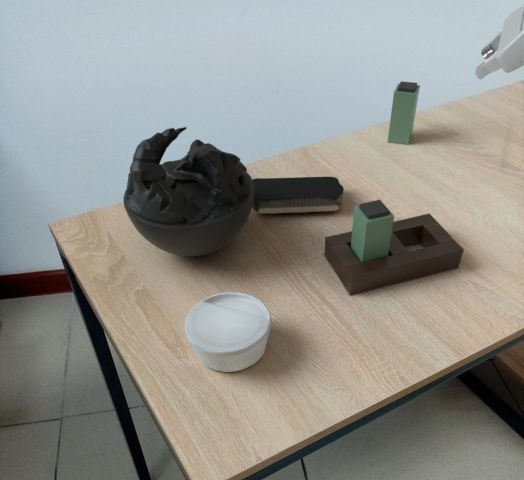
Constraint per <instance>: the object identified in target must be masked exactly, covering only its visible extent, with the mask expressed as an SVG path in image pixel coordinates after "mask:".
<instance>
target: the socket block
mask: <svg viewBox="0 0 524 480" xmlns="http://www.w3.org/2000/svg"><path fill="white" fill-rule="evenodd" d="M351 239H352V230H351V231H347V232H343V233H338V234H334V235H333V234H332V235H329V236H325V237H324V253H323V254H324V257H325V259H326V260H327V262H328V263H329V265H330V267H331V268H332V269H333V271H334V273H335V274H336V276H337V278H338V279H339V280H340V282H341V284H342V285H343V287H344V288H345V290H346V291H347V293H348V295H349V296H353V295H357V294H361V293H365V292H369V291H374V290H376V289H380V288H384V287H388V286H392V285H393V286H394V285H396V284H400V283H404V282H409V281H412V280H417V279H421V278H425V277H429V276H431V275H436V274H440V273H444V272H447V271H452V270H456V269H459V267H460V264H461V260H462V259H463V255H464V254H463V253H464V248H463V247H462V246H461V245H460V244H459V242H457V241H456V239H454V237H453V236H452V235H451V234H450V233H448V231H447V230H446V229H445V228H444V227H443V226H442V225H441V224H440V223H439V222H438V221H437V219H435V217H433V215H432V214H431V213H424V214H421V215H420V214H419V215H417V216H412V217H408V218H407V217H406V218H403V219H399V220H394V221H393V227H392V234H391V240H390V246H389V253H388V257H384V258H380V259H376V260H371V261H367V262H363V263H360V262H359V260H358V259H357V257H356V256H355V255H354V253H353V252H352V250H351ZM417 244H420V245H421V248H417V249H412V250H408V249H407V248H406V247H408V246H413V245H417Z"/></svg>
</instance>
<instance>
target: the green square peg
mask: <svg viewBox="0 0 524 480" xmlns="http://www.w3.org/2000/svg"><path fill="white" fill-rule="evenodd" d="M352 218H353V219H352V229H351V231H352V239H351V250H352V252H353V253H354V255H355V256H356V257H357V259H358V260H359V262H360V263H363V262H367V261H371V260H376V259H380V258H384V257H388V253H389V246H390V240H391V234H392V227H393V222H394V221H395V215H394V214H393V213H392V212H391V211H390V209H389V208H388V207H387V206H386V205H385V203H384V202H383V201H382V200H381V199H376V200H371V201H367V202H363V203H362V202H361V203H359V205H355V206H354V207H353V216H352Z"/></svg>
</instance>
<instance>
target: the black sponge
mask: <svg viewBox="0 0 524 480" xmlns="http://www.w3.org/2000/svg"><path fill="white" fill-rule="evenodd" d="M252 180H253V183H254V201H253V206H252V210H253V211H254V212H255V213H257V214H261V215H263V214H275V215H276V214H289V213H291V214H292V213H314V212H315V213H318V212H319V213H320V212H335V211H338V210H339V209H340V208H341V207H342V204H343V197H344V191H345V188H344V186H343V185H342V184H341V183H340V181H339V180H340V179H338V178H337V177H335V176H301V177H300V176H299V177H266V178H264V177H262V178H261V177H257V178H252Z"/></svg>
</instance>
